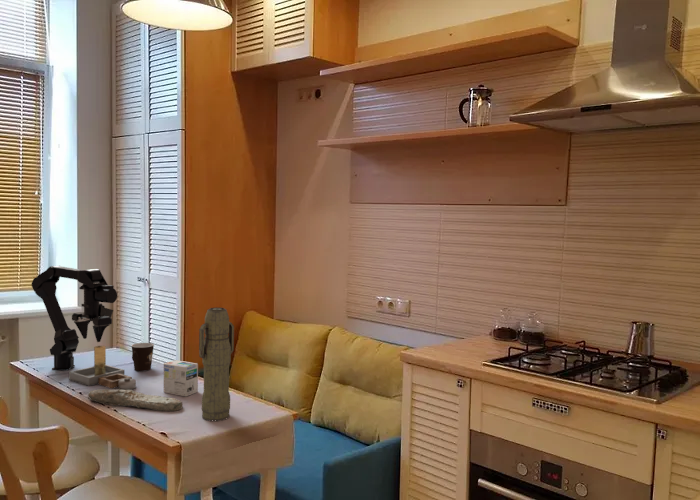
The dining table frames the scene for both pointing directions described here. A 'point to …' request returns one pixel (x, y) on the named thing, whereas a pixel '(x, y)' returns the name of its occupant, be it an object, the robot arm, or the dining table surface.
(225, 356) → the headless robed statue
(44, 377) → the dining table surface
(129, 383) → the brown frame
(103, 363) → the pin
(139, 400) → the elongated rock
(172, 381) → the light bulb box
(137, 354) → the coffee mug
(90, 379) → the tray
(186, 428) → the dining table surface
